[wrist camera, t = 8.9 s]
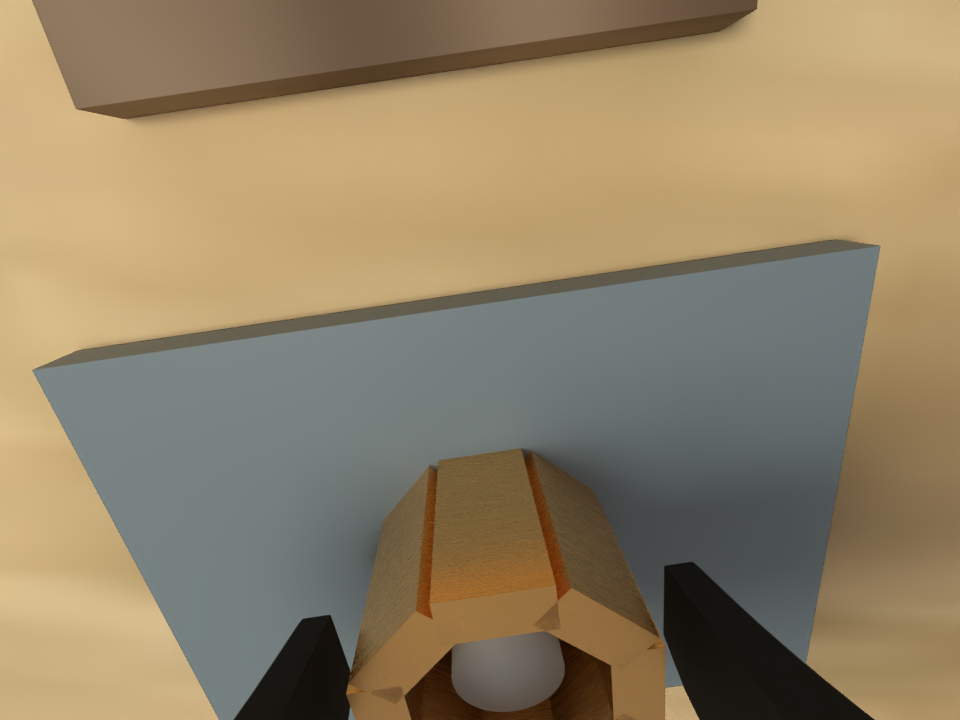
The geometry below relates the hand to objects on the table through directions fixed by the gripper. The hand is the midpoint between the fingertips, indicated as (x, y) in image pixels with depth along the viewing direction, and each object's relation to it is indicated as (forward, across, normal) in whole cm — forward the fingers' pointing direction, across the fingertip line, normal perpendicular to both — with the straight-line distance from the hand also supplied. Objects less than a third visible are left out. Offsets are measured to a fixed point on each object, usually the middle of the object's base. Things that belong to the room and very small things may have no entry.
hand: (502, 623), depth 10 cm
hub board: (+3, 0, 0) cm, 3 cm away
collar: (+2, 0, 0) cm, 2 cm away
